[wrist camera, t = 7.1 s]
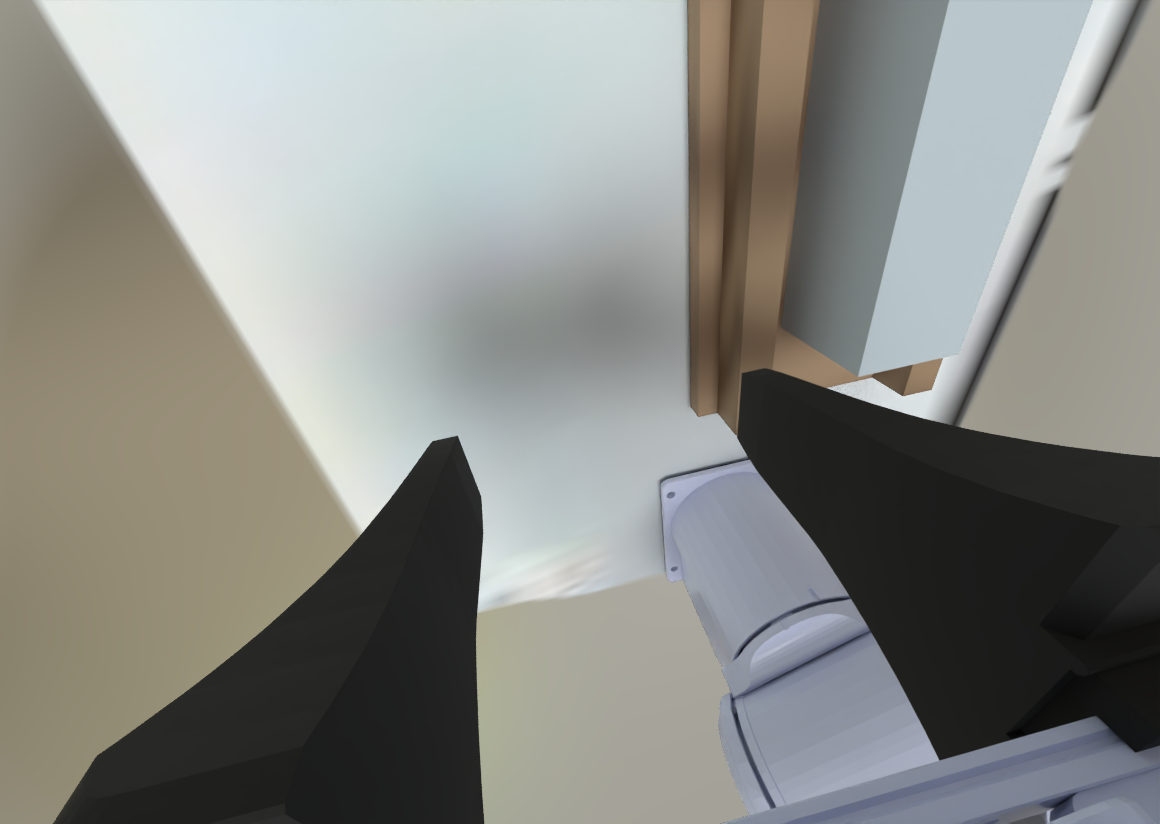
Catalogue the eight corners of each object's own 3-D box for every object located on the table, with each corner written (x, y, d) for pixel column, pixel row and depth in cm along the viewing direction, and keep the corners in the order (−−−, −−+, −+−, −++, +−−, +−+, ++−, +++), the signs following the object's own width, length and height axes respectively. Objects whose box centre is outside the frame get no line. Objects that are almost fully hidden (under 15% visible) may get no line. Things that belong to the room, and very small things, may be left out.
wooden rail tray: (901, 359, 23) (950, 385, 21) (690, 406, 23) (715, 439, 20) (1104, -321, 12) (1271, -448, 9) (685, -268, 11) (742, -389, 8)
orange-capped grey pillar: (861, 310, 20) (958, 354, 16) (781, 327, 20) (858, 376, 16) (966, -153, 12) (1209, -307, 8) (835, -134, 12) (1017, -282, 8)
